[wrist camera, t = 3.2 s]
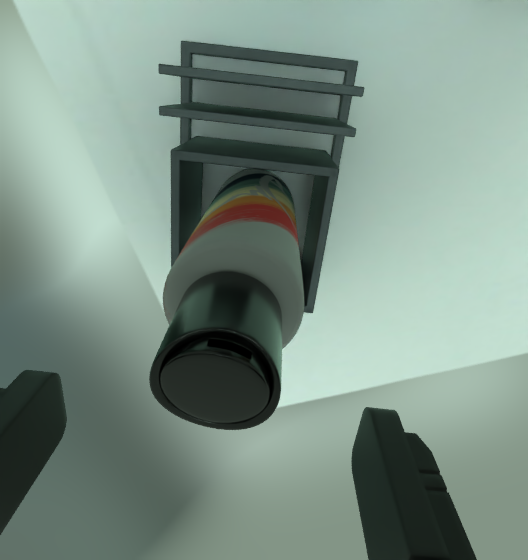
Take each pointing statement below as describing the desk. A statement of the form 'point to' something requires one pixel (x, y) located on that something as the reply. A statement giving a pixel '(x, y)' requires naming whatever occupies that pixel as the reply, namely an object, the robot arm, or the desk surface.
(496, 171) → the desk surface
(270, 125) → the rack
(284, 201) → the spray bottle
